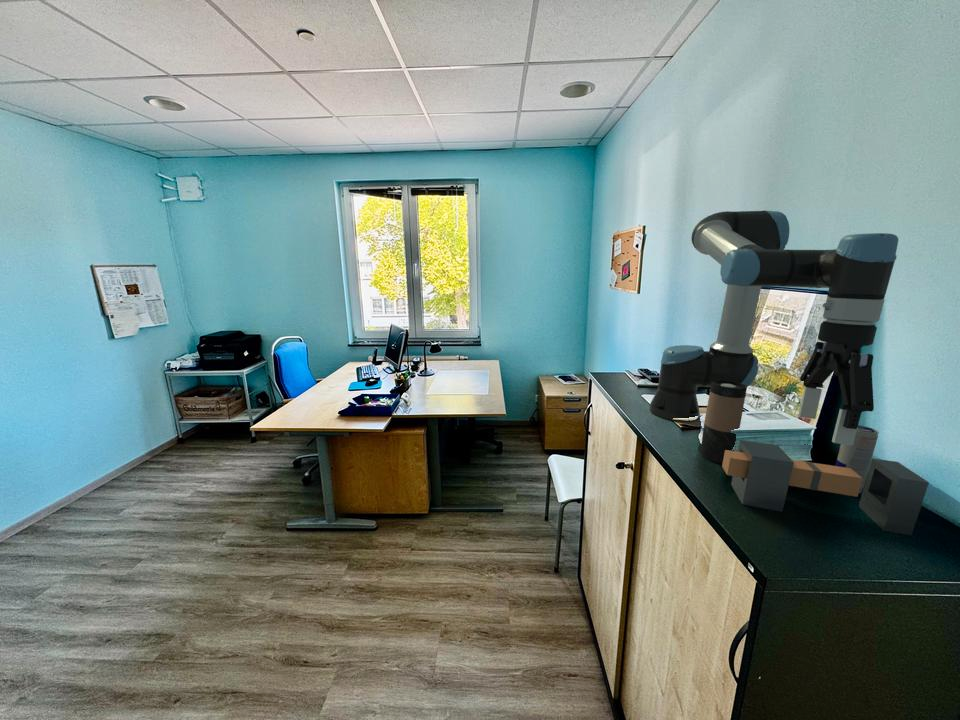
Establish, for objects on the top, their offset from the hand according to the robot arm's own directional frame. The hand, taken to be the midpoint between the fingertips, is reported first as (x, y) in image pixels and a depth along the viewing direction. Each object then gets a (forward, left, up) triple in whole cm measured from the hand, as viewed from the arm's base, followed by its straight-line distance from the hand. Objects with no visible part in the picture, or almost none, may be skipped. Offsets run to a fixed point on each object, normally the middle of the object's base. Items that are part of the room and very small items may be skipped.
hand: (822, 429), depth 74 cm
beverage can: (-11, +12, -17) cm, 24 cm away
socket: (0, +13, -17) cm, 21 cm away
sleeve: (0, -9, -17) cm, 19 cm away
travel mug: (-18, -12, -17) cm, 28 cm away
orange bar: (0, -4, -12) cm, 13 cm away
